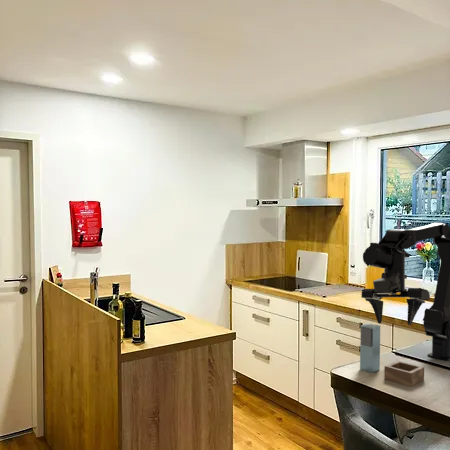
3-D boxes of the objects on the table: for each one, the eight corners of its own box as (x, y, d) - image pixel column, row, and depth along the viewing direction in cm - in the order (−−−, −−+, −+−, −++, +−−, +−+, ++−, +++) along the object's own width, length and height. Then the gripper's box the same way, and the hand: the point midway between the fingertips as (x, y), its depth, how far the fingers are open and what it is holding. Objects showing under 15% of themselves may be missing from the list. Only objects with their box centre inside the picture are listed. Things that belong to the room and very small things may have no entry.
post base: (397, 372, 133) (398, 360, 133) (424, 379, 128) (424, 367, 128) (384, 378, 128) (384, 366, 128) (410, 386, 123) (411, 373, 123)
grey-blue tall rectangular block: (367, 366, 139) (368, 323, 138) (379, 370, 136) (380, 325, 135) (359, 369, 136) (359, 325, 135) (371, 373, 133) (372, 328, 132)
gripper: (351, 267, 140) (350, 320, 136) (411, 264, 126) (411, 323, 123) (371, 273, 147) (370, 323, 143) (430, 271, 133) (431, 326, 130)
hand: (394, 324), depth 135 cm, fingers open, 9 cm apart
